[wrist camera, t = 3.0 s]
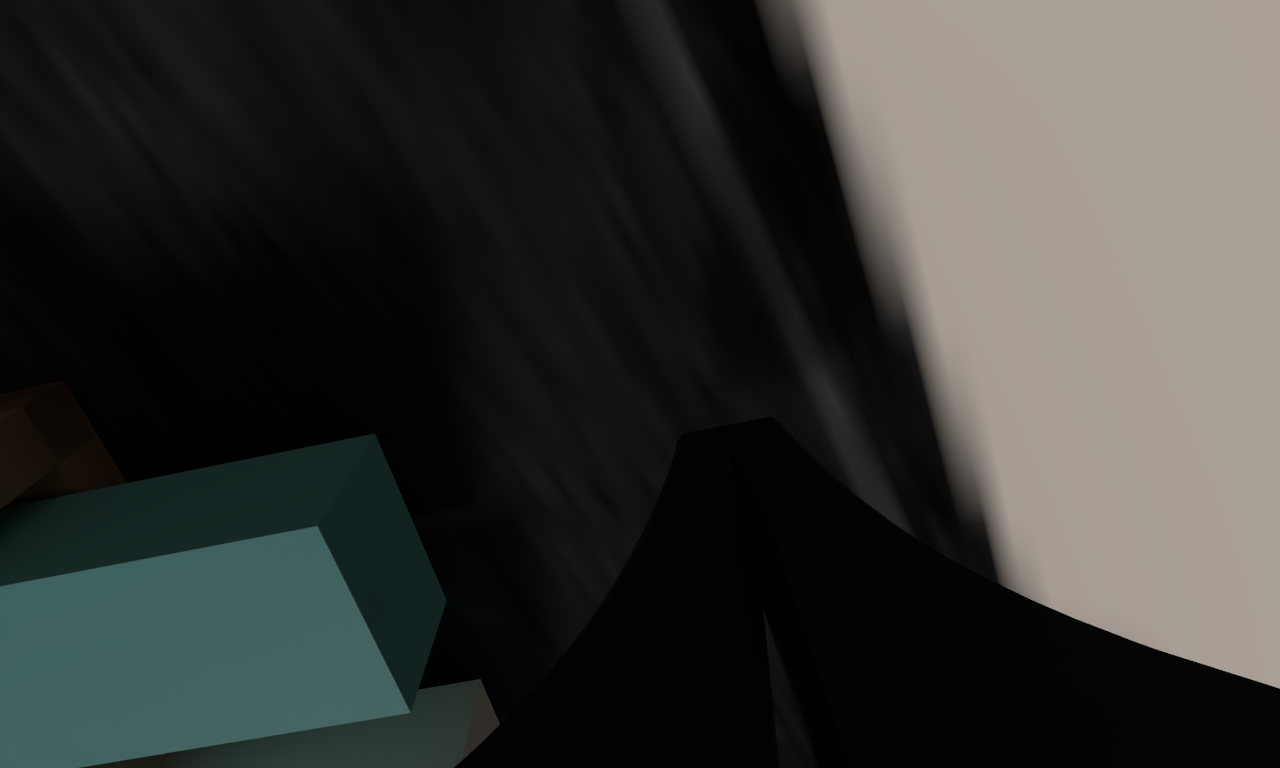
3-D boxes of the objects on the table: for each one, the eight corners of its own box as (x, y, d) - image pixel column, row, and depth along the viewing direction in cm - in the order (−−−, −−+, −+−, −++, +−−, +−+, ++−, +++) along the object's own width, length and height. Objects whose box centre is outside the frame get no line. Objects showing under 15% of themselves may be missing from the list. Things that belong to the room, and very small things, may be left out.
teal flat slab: (374, 433, 11) (317, 526, 9) (446, 600, 12) (410, 713, 10) (-118, 532, 12) (-273, 638, 10) (2, 679, 13) (-112, 799, 11)
